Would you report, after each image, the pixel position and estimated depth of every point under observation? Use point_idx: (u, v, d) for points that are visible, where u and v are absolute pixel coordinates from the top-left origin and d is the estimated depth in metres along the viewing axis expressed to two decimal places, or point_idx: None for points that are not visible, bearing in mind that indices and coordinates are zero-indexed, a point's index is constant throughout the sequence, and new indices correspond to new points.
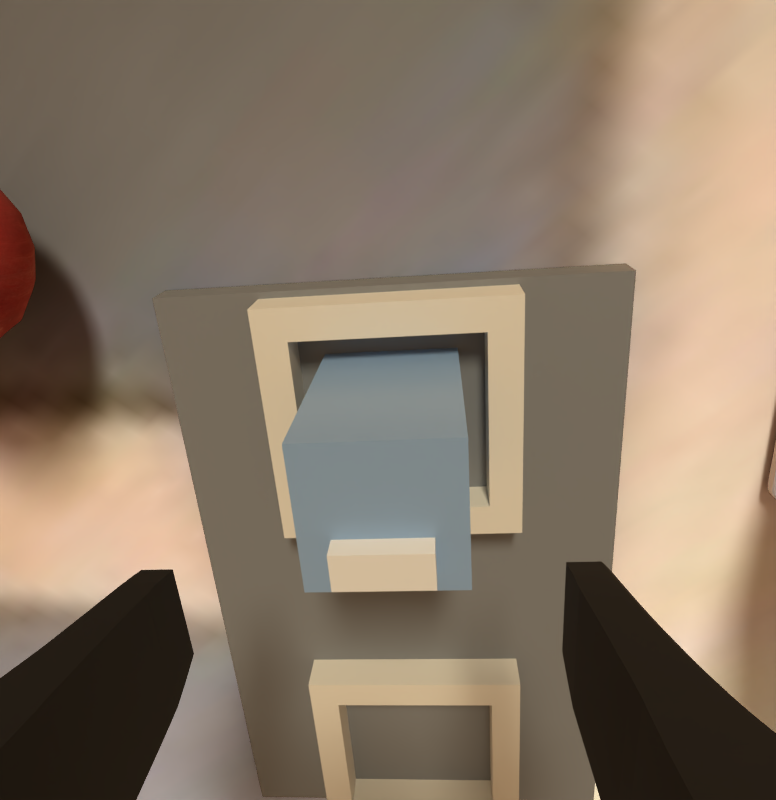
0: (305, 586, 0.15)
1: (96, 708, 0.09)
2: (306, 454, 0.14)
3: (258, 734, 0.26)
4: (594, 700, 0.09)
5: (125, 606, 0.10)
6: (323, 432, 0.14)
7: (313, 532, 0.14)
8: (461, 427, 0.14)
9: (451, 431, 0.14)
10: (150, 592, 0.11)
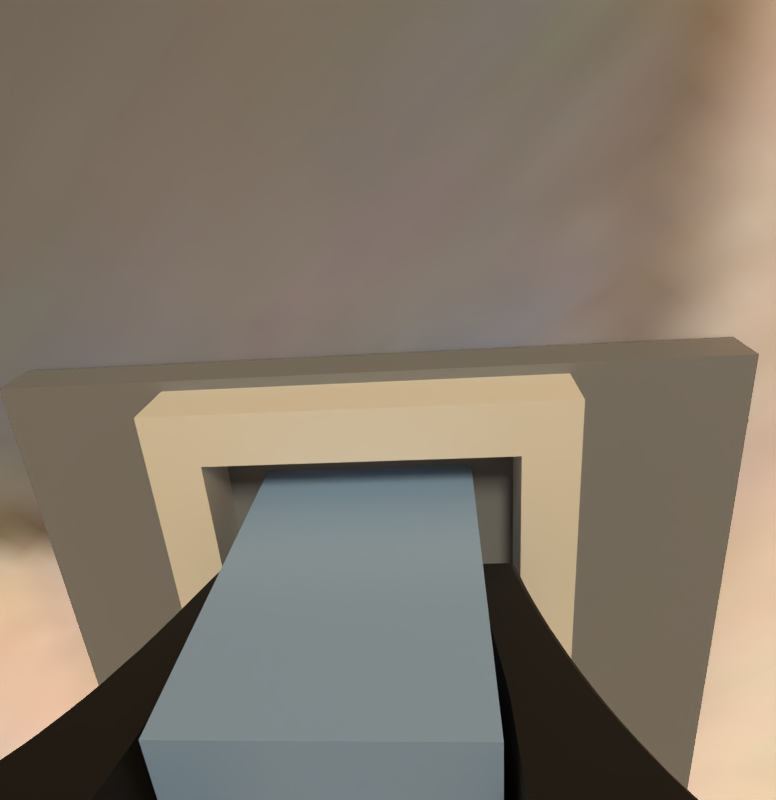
0: None
1: None
2: (188, 758, 0.07)
3: None
4: None
5: None
6: (225, 701, 0.07)
7: None
8: (489, 700, 0.07)
9: (469, 714, 0.07)
10: None
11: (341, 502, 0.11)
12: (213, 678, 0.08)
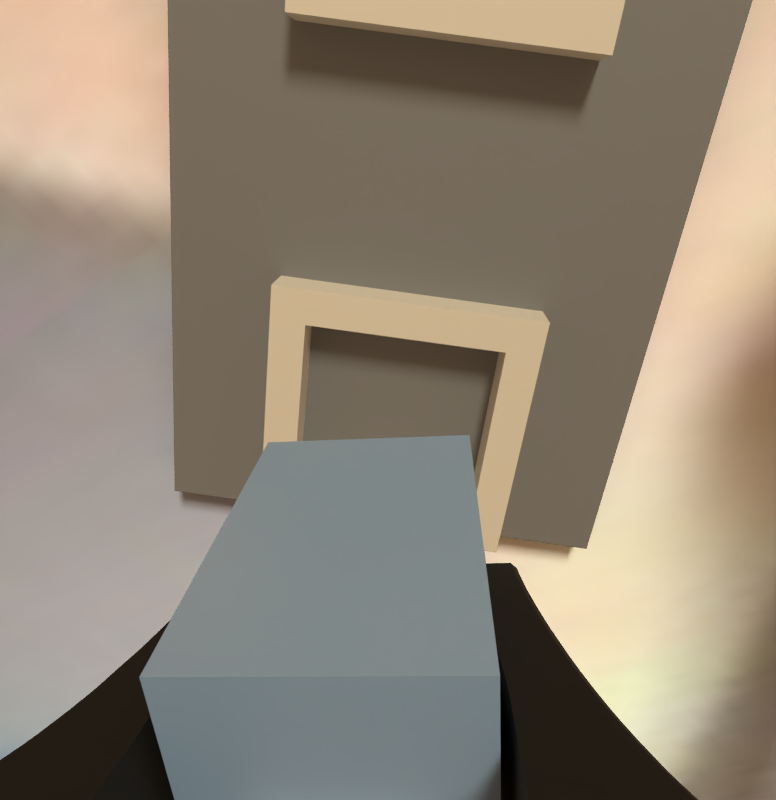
0: None
1: None
2: (188, 695, 0.07)
3: (186, 390, 0.20)
4: None
5: None
6: (225, 643, 0.07)
7: None
8: (485, 639, 0.07)
9: (465, 652, 0.07)
10: None
11: (340, 468, 0.11)
12: (213, 622, 0.08)
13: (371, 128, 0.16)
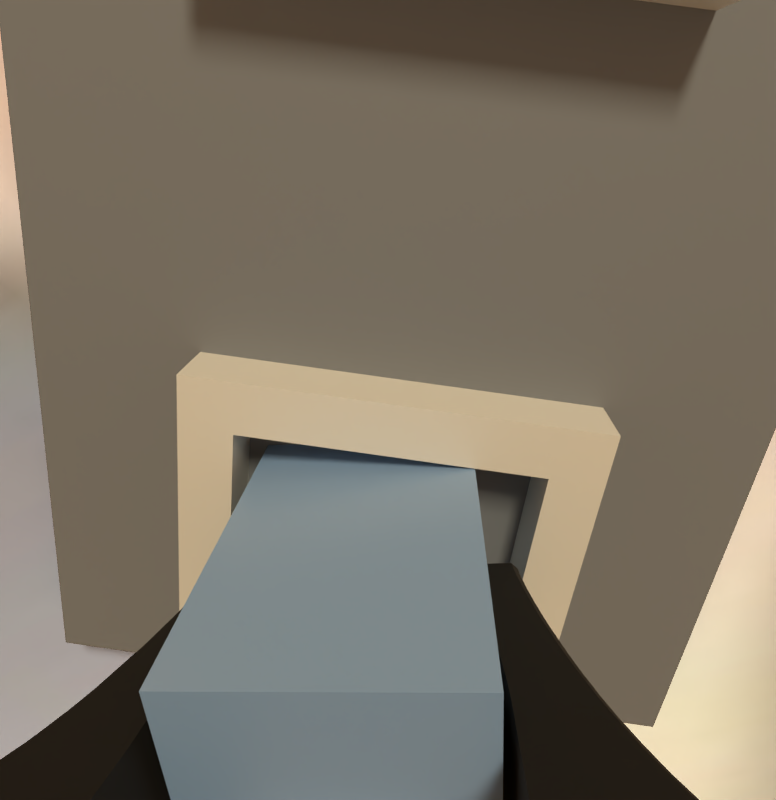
0: None
1: None
2: (188, 710, 0.07)
3: (70, 511, 0.13)
4: None
5: None
6: (226, 655, 0.07)
7: None
8: (488, 653, 0.07)
9: (469, 668, 0.07)
10: None
11: (341, 473, 0.11)
12: (213, 634, 0.08)
13: (334, 125, 0.10)
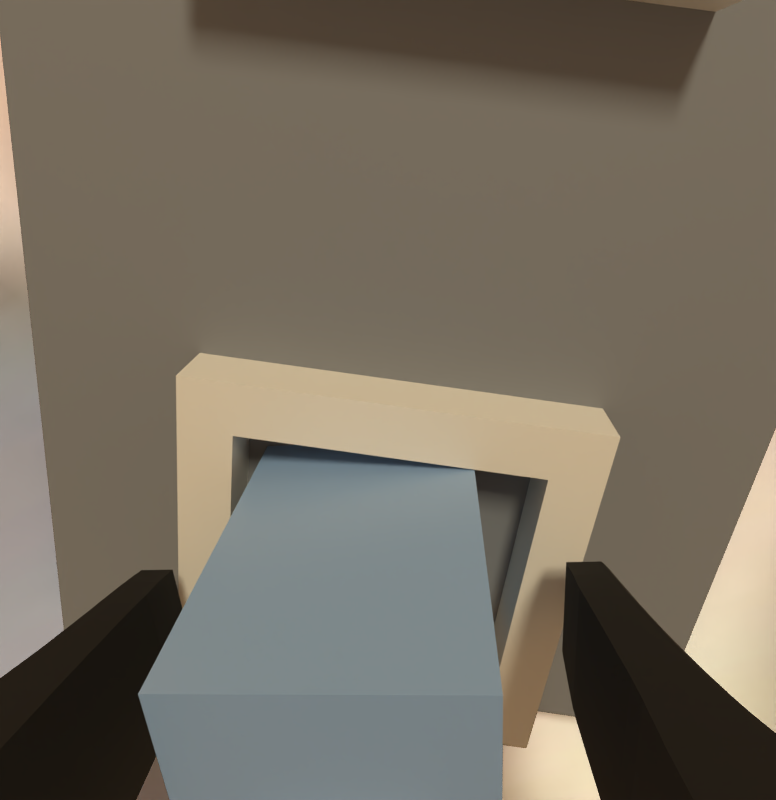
0: None
1: (96, 708, 0.09)
2: (187, 714, 0.07)
3: (70, 512, 0.13)
4: (594, 700, 0.09)
5: (125, 606, 0.10)
6: (226, 658, 0.07)
7: None
8: (488, 656, 0.07)
9: (468, 670, 0.07)
10: (150, 592, 0.11)
11: (341, 474, 0.11)
12: (212, 637, 0.08)
13: (333, 126, 0.10)
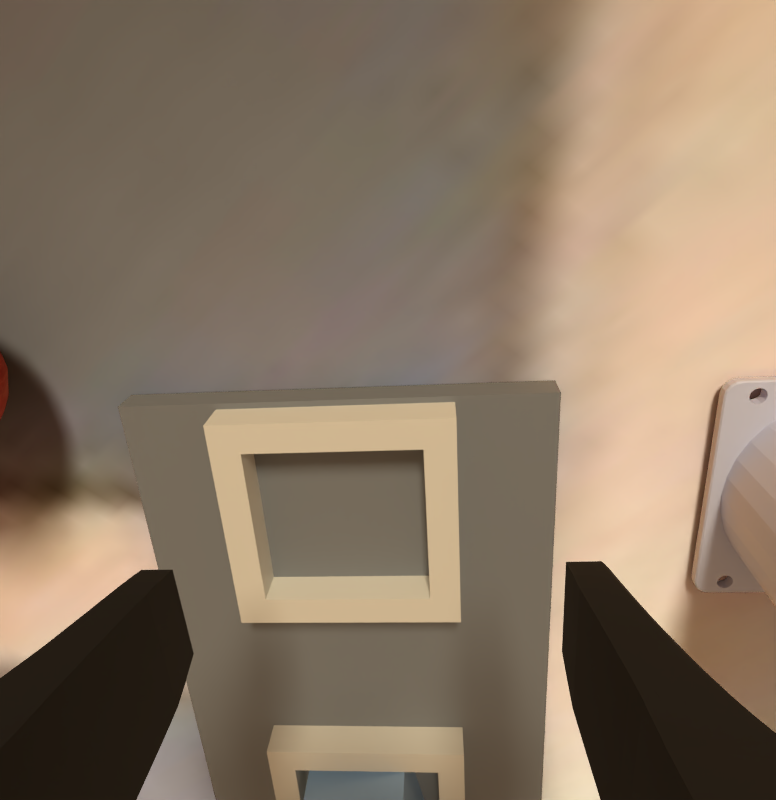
0: None
1: (96, 708, 0.09)
2: None
3: (223, 791, 0.27)
4: (594, 700, 0.09)
5: (125, 606, 0.10)
6: None
7: None
8: None
9: None
10: (150, 592, 0.11)
11: (345, 779, 0.25)
12: None
13: (315, 645, 0.24)
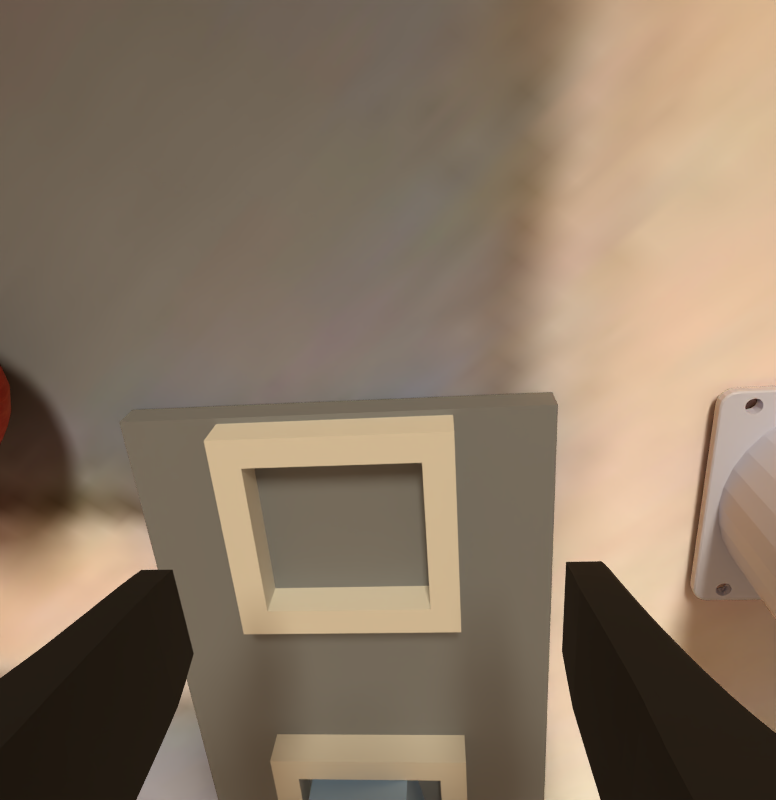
0: None
1: (96, 708, 0.09)
2: None
3: (227, 799, 0.28)
4: (594, 700, 0.09)
5: (125, 606, 0.10)
6: None
7: None
8: None
9: None
10: (150, 592, 0.11)
11: (349, 788, 0.25)
12: None
13: (317, 655, 0.24)
